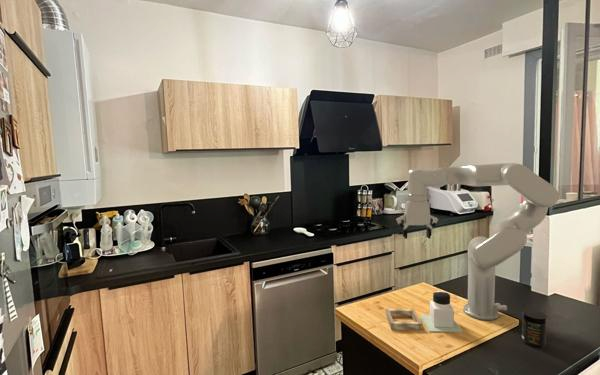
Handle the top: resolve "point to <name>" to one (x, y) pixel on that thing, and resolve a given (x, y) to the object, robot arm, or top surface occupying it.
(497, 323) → the top surface
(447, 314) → the medicine bottle
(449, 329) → the mat
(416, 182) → the robot arm
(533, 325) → the supplement container
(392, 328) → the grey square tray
